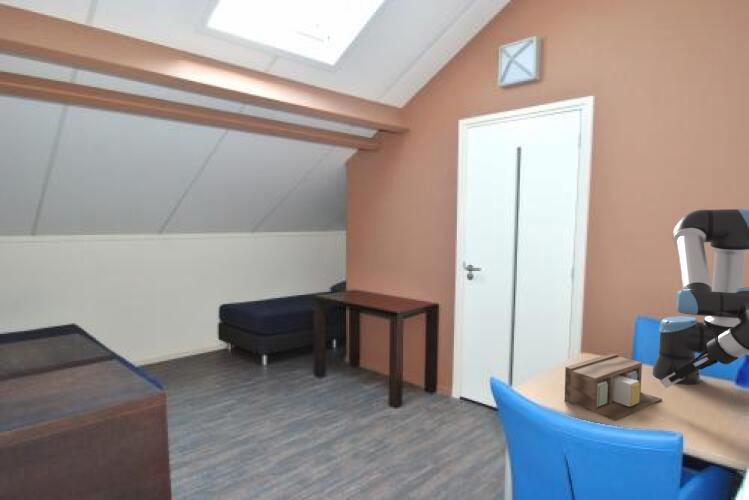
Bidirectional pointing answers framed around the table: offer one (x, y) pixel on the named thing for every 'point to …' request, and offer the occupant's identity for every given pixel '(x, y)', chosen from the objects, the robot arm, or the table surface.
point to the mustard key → (625, 390)
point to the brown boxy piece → (588, 373)
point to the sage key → (602, 392)
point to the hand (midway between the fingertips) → (664, 384)
